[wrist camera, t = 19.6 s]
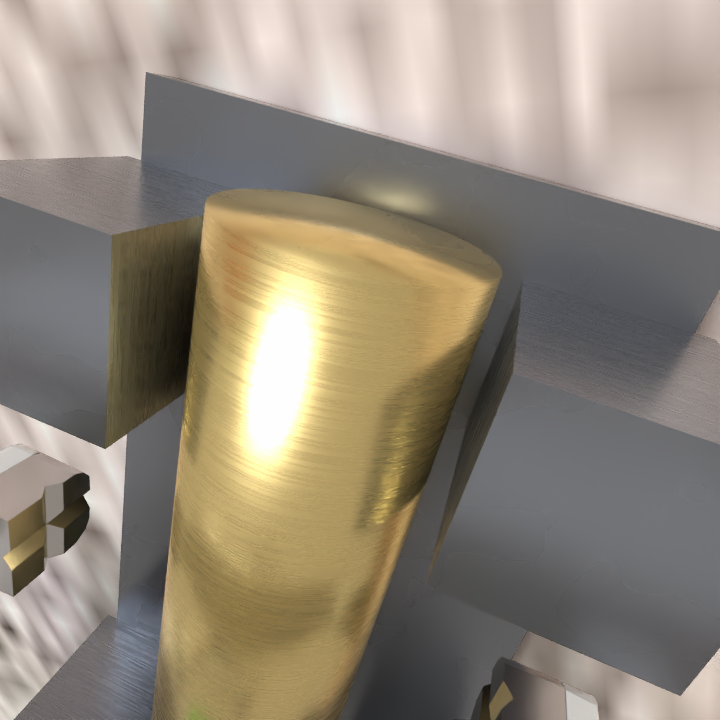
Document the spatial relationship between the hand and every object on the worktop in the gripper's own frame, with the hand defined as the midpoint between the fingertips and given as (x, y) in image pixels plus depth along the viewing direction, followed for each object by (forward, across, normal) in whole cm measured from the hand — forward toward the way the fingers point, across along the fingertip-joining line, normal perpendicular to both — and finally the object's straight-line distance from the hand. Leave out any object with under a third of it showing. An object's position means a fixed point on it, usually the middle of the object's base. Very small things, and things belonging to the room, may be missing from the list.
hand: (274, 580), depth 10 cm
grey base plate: (+3, 0, +2) cm, 4 cm away
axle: (+2, 0, +2) cm, 3 cm away
